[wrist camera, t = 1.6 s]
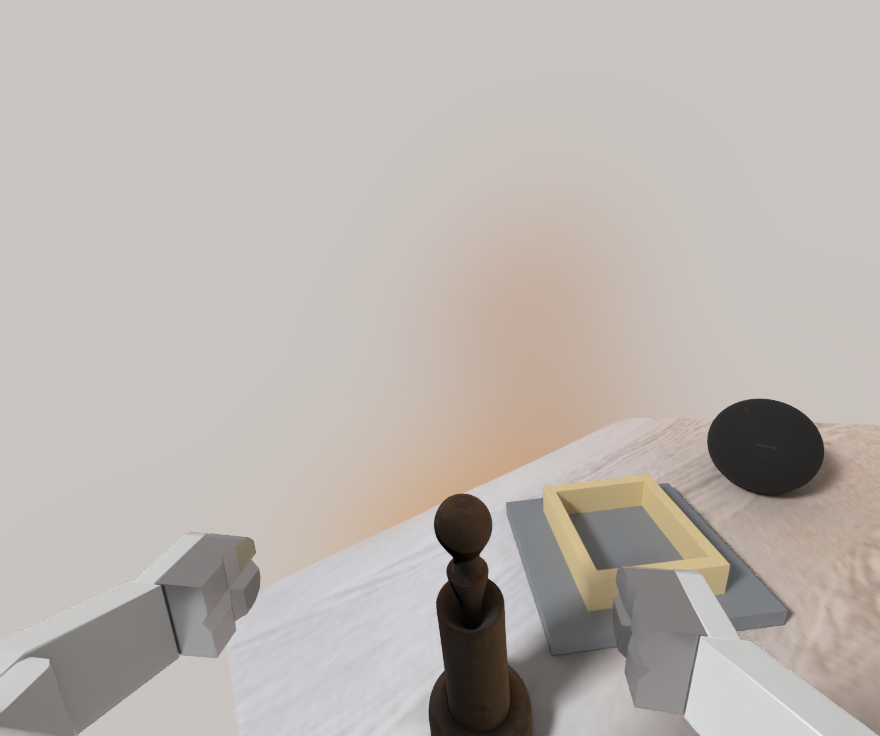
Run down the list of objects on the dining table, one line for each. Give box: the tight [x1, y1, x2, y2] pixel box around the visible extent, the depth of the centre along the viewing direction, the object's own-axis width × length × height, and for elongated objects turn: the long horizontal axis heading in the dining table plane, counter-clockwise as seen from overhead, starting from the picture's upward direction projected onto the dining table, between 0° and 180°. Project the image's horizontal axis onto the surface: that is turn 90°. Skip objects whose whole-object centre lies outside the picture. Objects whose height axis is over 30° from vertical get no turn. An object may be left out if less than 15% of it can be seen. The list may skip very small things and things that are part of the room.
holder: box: [506, 474, 788, 655], centre depth 39 cm, size 18×16×4 cm
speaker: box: [707, 399, 824, 494], centre depth 46 cm, size 10×10×10 cm
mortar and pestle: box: [429, 494, 532, 736], centre depth 25 cm, size 7×6×18 cm
